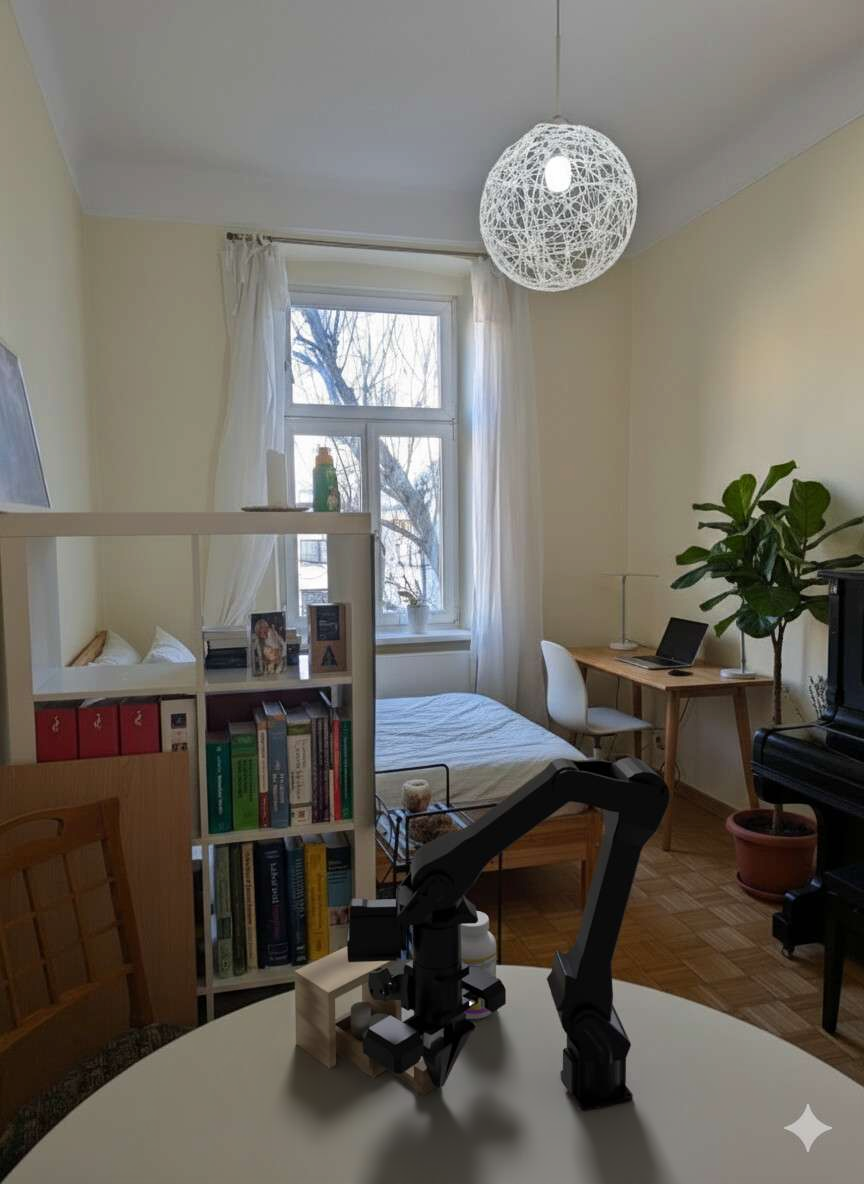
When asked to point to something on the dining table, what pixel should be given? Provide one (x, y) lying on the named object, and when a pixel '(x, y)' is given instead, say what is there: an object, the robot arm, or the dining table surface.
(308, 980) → the shelf
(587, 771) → the robot arm
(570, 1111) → the dining table surface
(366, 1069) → the wooden box with handle
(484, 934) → the supplement bottle
